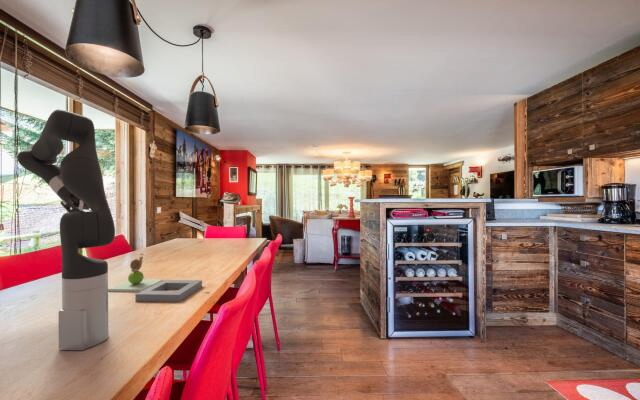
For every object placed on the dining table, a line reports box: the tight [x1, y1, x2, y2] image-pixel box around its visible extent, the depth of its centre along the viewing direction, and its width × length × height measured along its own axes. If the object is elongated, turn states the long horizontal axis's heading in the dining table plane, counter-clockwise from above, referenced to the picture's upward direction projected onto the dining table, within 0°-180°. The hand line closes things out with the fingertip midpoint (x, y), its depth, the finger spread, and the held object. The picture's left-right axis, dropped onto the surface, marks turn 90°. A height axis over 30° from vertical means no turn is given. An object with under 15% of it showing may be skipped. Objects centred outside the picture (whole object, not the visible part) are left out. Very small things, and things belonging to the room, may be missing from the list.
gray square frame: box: [134, 279, 203, 303], centre depth 114 cm, size 18×16×2 cm
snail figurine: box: [127, 253, 145, 284], centre depth 122 cm, size 5×6×12 cm
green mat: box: [108, 278, 164, 293], centre depth 122 cm, size 14×14×1 cm
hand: (97, 219), depth 110 cm, fingers open, 8 cm apart
